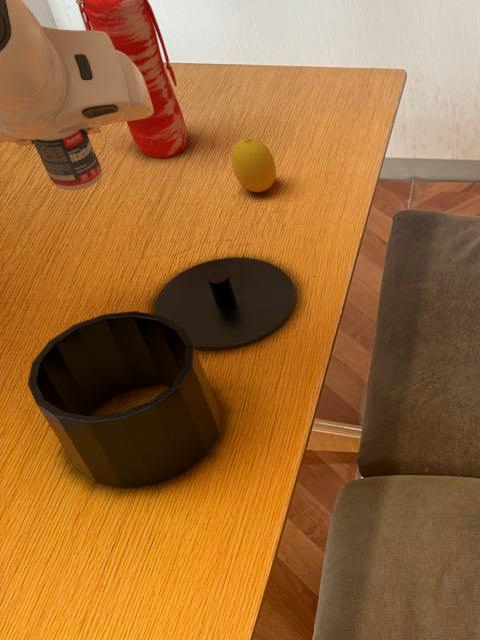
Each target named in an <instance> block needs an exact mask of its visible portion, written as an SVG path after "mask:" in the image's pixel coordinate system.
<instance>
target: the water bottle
mask: <svg viewBox="0 0 480 640" xmlns="http://www.w3.org/2000/svg"><path fill="white" fill-rule="evenodd" d="M75 3H76V4H77V6H78V11H79V12H80V16H81V19H82V22H83V26H84V29H85V31H102V32H105V33H107V34H108V35H109V37H110V39H111V41H112V44H113V46H114V48H115V50H118V51H120V52H122V53H124V54H125V55H127V56H128V57H129V58H130V59H131V60H132V62H133V63H134V64H135V65H136V67H137V68H138V69H139V71H140V73H141V74H142V76H143V78H144V80H145V83H146V86H147V89H148V92H149V95H150V98H151V102H152V105H153V109H154V113H153V114H152V115H151V116H149V117H148V118H145V119H138V120H132V121H126V123H127V128H128V129H129V131H130V134H131V136H132V140H133V142H134V144H136V146H137V147H138V148H139V149H140V151H141V152H142V153H144V154H145V155H147V156H148V157H150V158H157V159H165V158H170V157H174V156H176V155H177V154H181V153H182V152H183V151H184V150H185V148H186V147H187V146H188V129H187V125H186V122H185V117H184V115H183V111H182V108H181V106H180V103H179V101H178V98H177V95H176V92H175V91H174V88H173V86H174V87H178V84H177V80H176V75H175V72H174V69H173V66H171V65H170V64H171V63H170V59H169V55H168V52H167V48H166V45H165V42H164V38H163V35H162V32H161V30H160V26H159V24H158V21H157V18H156V16H155V13H154V10H153V7H152V6H151V4H150V2H149V0H75ZM159 43H160V44H159ZM160 46H161V48H162V52H163V55H164V60H165V63H164V60H163V57H162V52H161V48H160ZM165 64H166V65H165ZM167 71H168V72H169V75H170V78H171V80H172V82H173V85H172V83H171V81H170V78H169V76H168V73H167Z"/></svg>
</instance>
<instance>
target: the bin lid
mask: <svg viewBox="0 0 480 640" xmlns="http://www.w3.org/2000/svg"><path fill="white" fill-rule="evenodd" d="M296 299H297V295H296V289H295V286H294V283H293V281H292V280H291V277H290V276H288V274H287V273H286V272H285V271H284V270H282V268H280V267H278V266H276V265H274V264H273V263H270V262H267V261H264V260H261V259H257V258H250V257H238V256H237V257H223V258H217V259H212V260H208V261H205V262H201V263H199V264H196V265H194V266H191V267H189V268H187V269H185V270H183V271H182V272H180V273H178V274H177V275H176V276H174V277H173V278H171V280H169V281H168V282H167V283H166V284H165V285H164V286H163V288H162V289H161V290H160V292H159V294H158V295H157V298H156V299H155V304H154V314H155V315H161V316H164V317H166V318H167V319H169V320H171V321H173V322H174V323H176V324H178V325H180V326H182V327H183V328H184V329H185V331H186V333H187V334H188V336H189V338H190V339H191V341H192V343H193V344H194V347H195V349H196V350H200V351H211V352H212V351H213V352H214V351H228V350H234V349H239V348H242V347H246V346H249V345H253V344H255V343H257V342H259V341H262V340H263V339H266V338H267V337H269V336H271V335H272V334H274V333H275V332H277V331H278V330H279V329H280V328H281V327H282V326H284V324H285V323H286V322H287V321H288V319H289V318H290V317H291V315H292V314H293V311H294V309H295V306H296Z"/></svg>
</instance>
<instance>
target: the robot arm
mask: <svg viewBox="0 0 480 640" xmlns="http://www.w3.org/2000/svg"><path fill="white" fill-rule="evenodd" d="M153 113H154V109H153V105H152V102H151V98H150V95H149V92H148V89H147V86H146V83H145V80H144V78H143V76H142V74H141V73H140V71H139V69H138V68H137V67H136V65H135V64H134V63H133V62H132V60H131V59H130V58H129V57H128V56H127V55H125V54H124V53H122V52H120V51H118V50H115V48H114V46H113V44H112V41H111V39H110V37H109V35H108V34H107V33H105V32H102V31H93V30H92V31H86V30H75V29H59V28H52V27H46V26H43V25H41V23H40V22H39V21H38V19H37V18H36V16H35V14H34V13H33V12H32V11H31V9H30V8H29V7H28V5H27V4H26V3H25V2H24V1H23V0H0V144H3V143H13V144H16V145H18V146H19V147H25V146H30V145H34V143H33V141H32V140H36V139H43V138H46V137H49V136H52V135H54V134H56V133H62V132H68V131H73V130H79V129H83V131H84V132H85V133H86V135H88V136H89V135H95V134H100V133H102V131H101V128H102V127H103V126H109V125H113V124H120V123H127V121H132V120H138V119H145V118H148V117H149V116H151V115H152V114H153Z"/></svg>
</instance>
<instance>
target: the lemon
mask: <svg viewBox="0 0 480 640" xmlns="http://www.w3.org/2000/svg"><path fill="white" fill-rule="evenodd" d="M231 151H232V152H231V165H232V171H233V173H234V176H235V178H236V180H237V181H238V183H239V184H240V185H241V186H242V187H243V188H245V189H246V190H247V191H250V192H254V193H262V192H265V191H267V190H269V189H270V188H271V187H272V186H273V184H274V182H275V180H276V175H277V168H276V162H275V160H274V157H273V155H272V153H271V151H270V149H269V147H268V146H267V145H266V144H265V143H264V142H262V141H261V140H260V139H258V138H254V137H249V136H246V137H244V138H243V139H240V140H239V141H238V142H236V144H235V145H234V146H233V149H232V150H231Z"/></svg>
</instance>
